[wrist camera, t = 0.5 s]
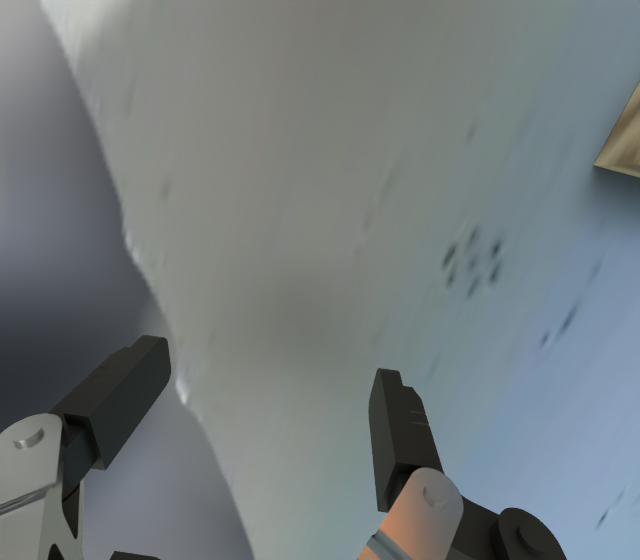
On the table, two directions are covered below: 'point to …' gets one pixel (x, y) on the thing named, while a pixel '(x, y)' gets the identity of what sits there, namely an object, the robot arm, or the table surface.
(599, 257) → the table surface
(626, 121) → the key box
